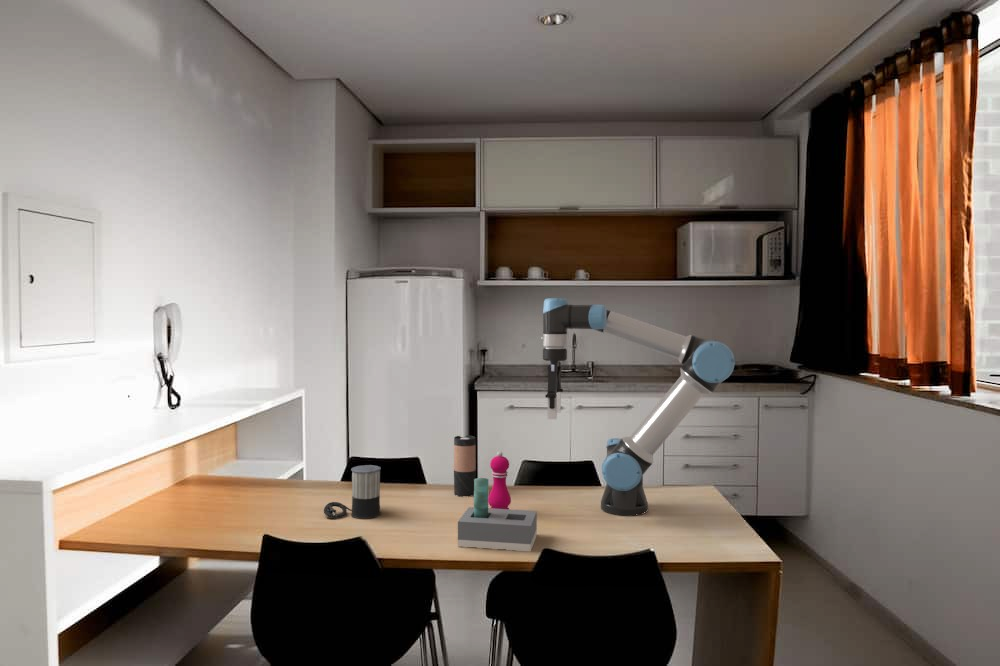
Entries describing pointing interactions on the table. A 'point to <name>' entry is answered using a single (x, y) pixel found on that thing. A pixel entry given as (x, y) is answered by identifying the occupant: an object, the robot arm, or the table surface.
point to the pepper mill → (499, 483)
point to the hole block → (498, 529)
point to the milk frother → (361, 494)
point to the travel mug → (464, 465)
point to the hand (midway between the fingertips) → (554, 415)
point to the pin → (480, 498)
